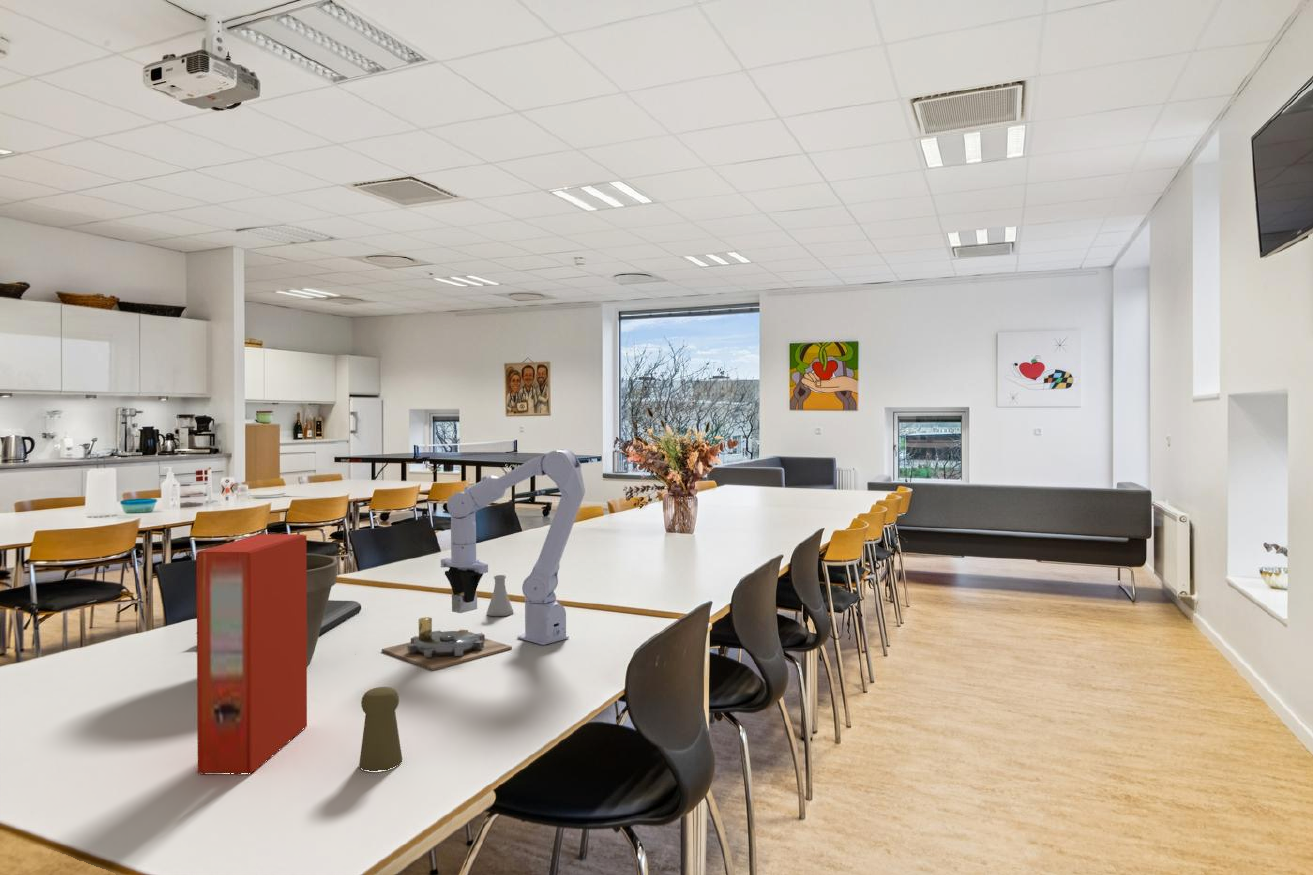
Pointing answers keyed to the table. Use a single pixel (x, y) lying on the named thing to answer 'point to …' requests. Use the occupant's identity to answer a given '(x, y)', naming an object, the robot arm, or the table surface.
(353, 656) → the table surface
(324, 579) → the plant pot
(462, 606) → the grey rectangular block
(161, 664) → the table surface
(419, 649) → the sprocket
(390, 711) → the olive pawn
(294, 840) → the table surface
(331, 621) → the closed laptop
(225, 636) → the file binder
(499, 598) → the flask
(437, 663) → the board
